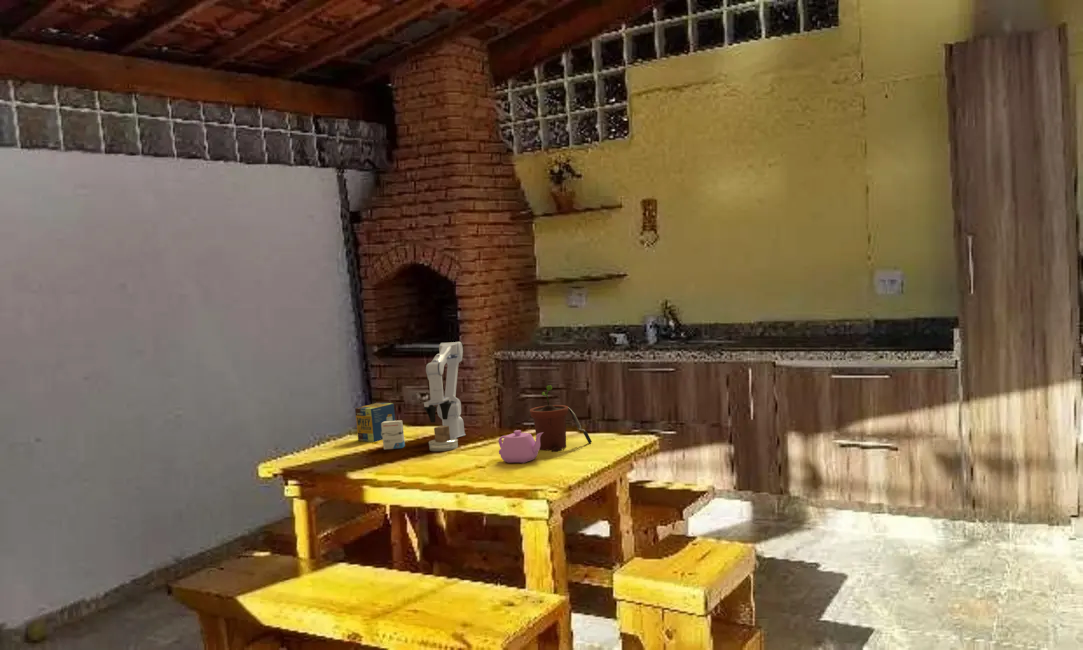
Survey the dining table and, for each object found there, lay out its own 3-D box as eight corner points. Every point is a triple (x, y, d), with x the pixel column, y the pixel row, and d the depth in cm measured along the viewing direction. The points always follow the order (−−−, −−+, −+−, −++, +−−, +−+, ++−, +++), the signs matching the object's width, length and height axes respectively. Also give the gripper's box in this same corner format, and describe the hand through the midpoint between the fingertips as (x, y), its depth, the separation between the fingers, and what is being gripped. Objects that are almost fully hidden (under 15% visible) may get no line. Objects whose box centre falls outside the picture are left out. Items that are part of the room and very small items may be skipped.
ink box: (405, 446, 389) (402, 419, 388) (402, 448, 384) (399, 421, 383) (386, 447, 390) (383, 420, 389) (383, 449, 385) (380, 422, 384)
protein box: (357, 441, 410) (354, 408, 409) (381, 434, 423) (378, 402, 422) (373, 442, 404) (370, 408, 403) (397, 435, 417) (394, 402, 416)
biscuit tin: (443, 444, 386) (442, 437, 386) (464, 446, 378) (463, 438, 378) (423, 451, 376) (422, 443, 376) (444, 452, 368) (443, 444, 368)
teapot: (491, 464, 338) (488, 434, 337) (507, 456, 350) (505, 427, 349) (538, 465, 329) (536, 434, 329) (553, 457, 341) (550, 427, 341)
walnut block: (441, 439, 380) (440, 425, 380) (450, 439, 378) (448, 426, 377) (435, 441, 376) (434, 427, 376) (443, 442, 374) (442, 428, 373)
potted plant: (545, 441, 373) (540, 382, 371) (592, 442, 362) (587, 382, 361) (525, 451, 357) (520, 389, 355) (573, 452, 347) (568, 389, 345)
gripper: (441, 387, 392) (443, 417, 393) (418, 392, 381) (420, 423, 382) (453, 387, 388) (455, 418, 389) (429, 392, 377) (432, 423, 377)
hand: (439, 420), depth 385 cm, fingers open, 7 cm apart
